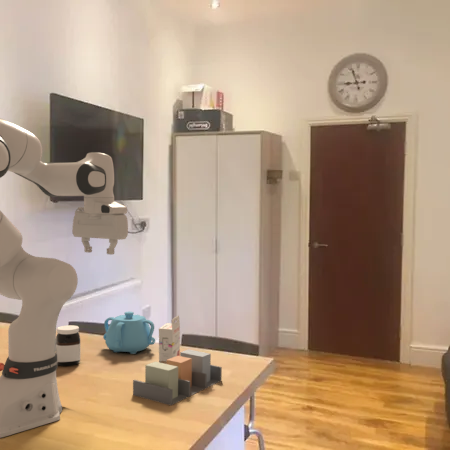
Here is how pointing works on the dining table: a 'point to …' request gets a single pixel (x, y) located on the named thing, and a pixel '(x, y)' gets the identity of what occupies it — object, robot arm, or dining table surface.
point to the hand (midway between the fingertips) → (99, 253)
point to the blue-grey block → (199, 361)
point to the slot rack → (184, 387)
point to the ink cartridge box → (169, 340)
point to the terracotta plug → (182, 367)
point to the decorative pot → (128, 333)
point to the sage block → (162, 376)
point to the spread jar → (68, 345)
